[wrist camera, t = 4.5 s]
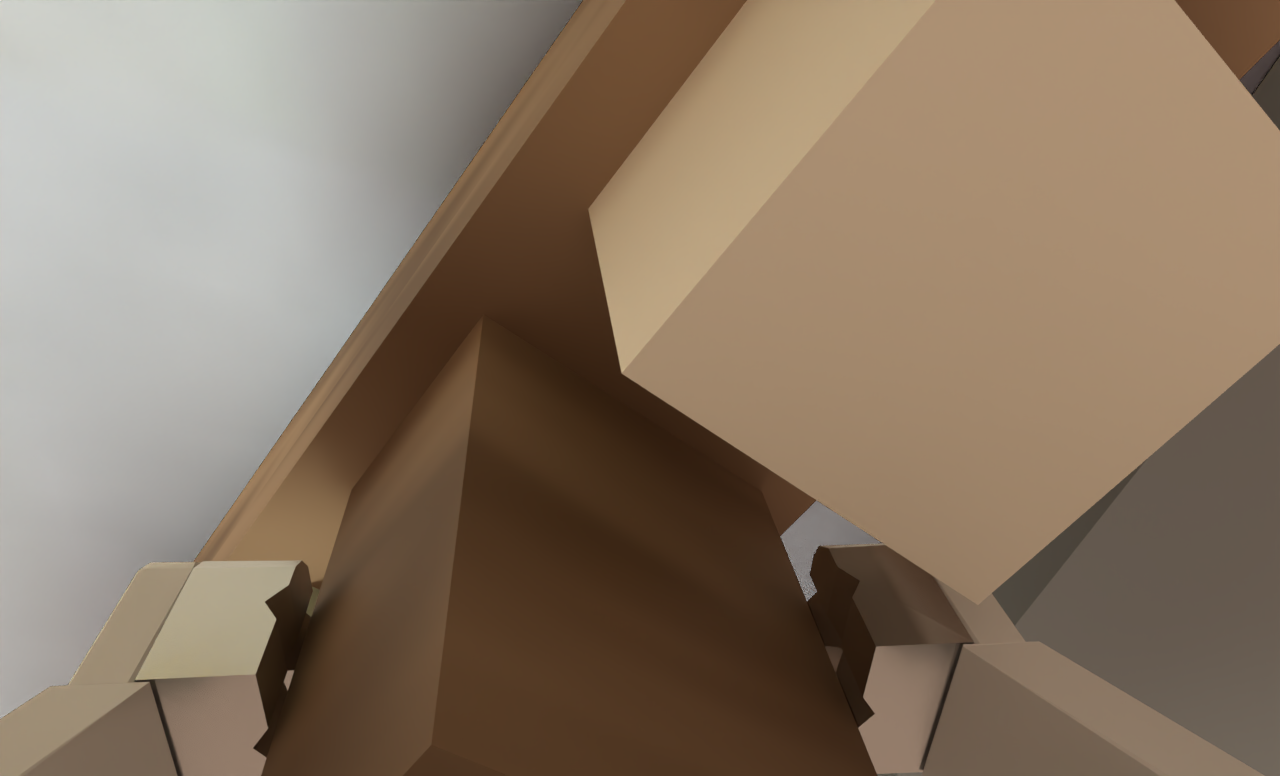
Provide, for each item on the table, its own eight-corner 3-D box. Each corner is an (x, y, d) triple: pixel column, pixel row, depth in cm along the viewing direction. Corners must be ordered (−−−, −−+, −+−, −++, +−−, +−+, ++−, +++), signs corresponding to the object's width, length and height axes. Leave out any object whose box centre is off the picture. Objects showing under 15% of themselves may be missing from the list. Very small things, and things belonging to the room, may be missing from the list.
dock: (1116, 859, 26) (1186, 974, 23) (764, 790, 22) (795, 913, 20) (1811, 180, 17) (2068, 232, 14) (1386, -96, 13) (1606, -100, 11)
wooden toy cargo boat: (401, 755, 19) (291, 1458, 10) (132, 649, 17) (-300, 1435, 8) (1111, -28, 13) (2362, 74, 4) (834, -362, 11) (2298, -1743, 2)
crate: (835, 389, 11) (977, 604, 8) (588, 208, 10) (621, 373, 6) (1076, 137, 10) (1381, 256, 6) (834, -115, 8) (1057, -146, 5)
